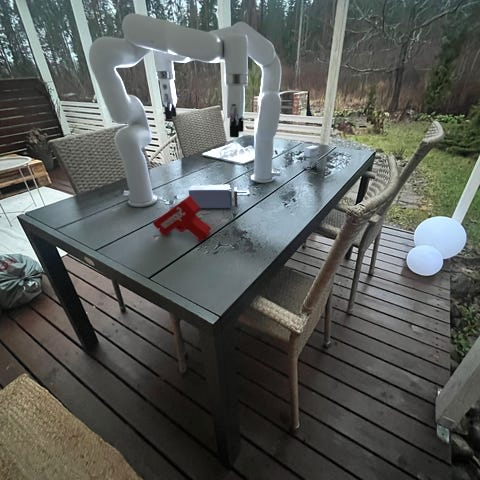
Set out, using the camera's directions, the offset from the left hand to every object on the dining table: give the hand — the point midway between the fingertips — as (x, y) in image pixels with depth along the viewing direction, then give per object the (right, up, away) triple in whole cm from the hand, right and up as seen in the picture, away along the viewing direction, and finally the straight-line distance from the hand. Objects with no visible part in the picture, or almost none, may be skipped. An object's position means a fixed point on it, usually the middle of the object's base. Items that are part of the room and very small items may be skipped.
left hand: (236, 134), depth 100 cm
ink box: (+43, +5, +63) cm, 77 cm away
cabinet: (-12, -24, +18) cm, 33 cm away
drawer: (-5, -24, +18) cm, 30 cm away
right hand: (-32, +19, +29) cm, 47 cm away
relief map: (-3, +19, +86) cm, 88 cm away
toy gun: (-19, -37, -2) cm, 42 cm away
